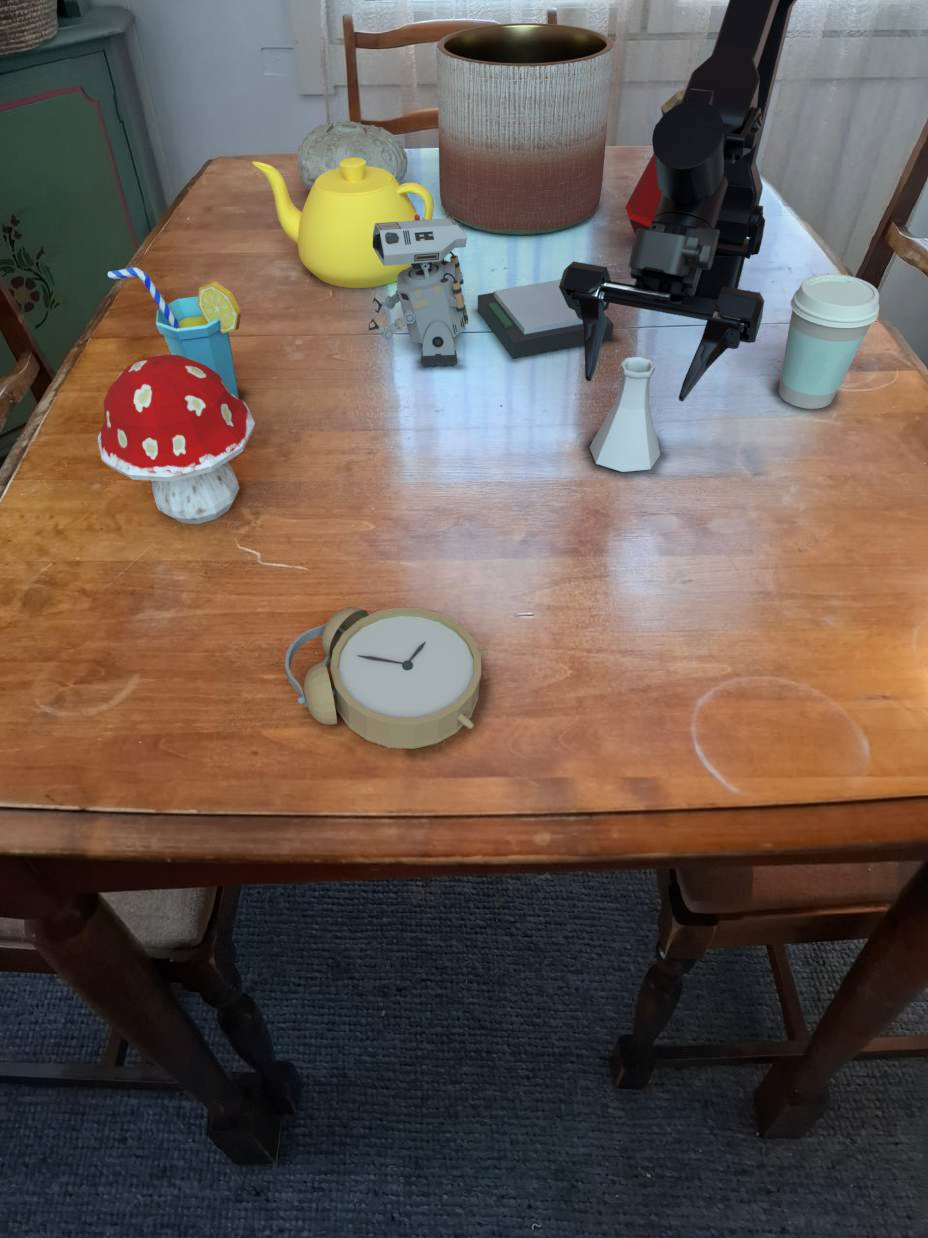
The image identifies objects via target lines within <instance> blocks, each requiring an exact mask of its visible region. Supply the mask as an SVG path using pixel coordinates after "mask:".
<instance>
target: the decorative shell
mask: <svg viewBox="0 0 928 1238" xmlns="http://www.w3.org/2000/svg"><path fill="white" fill-rule="evenodd" d="M296 156H297V157H296V158H297V159H296V161H297V172H298V176H299V177H300V179H301V183H302V184H303V186H304V187H305V189H306V190H307V191H308V192H310V190H311V188H312V186H313V185H314V183H315V181H316V179H317V178H318V177H319V176H320V175H322V174H323V173H325V172H327V171H330V170H333V169H337V168H340V165H339V162H340V161H342V160H343V159H346V158H353V157H355V158H361V159H364V160H366V166H369V167H376V168H381V169H384V170H386V171H388V172H389V173H391V174H392V175H393V176H394V177H395V179H396V180H397V181H398V183H399V184H400V185H401V184H402V182H403V180H404V179H405V177H406V173H407V170H408V163H409V162H408V159H409V158H408V156H407V152H406V151H405V149H404V147H403V145H402V143H401V142H400V140H399V139H398V138H397V137H396V136H395V135H394V134H393V133H392V132H390V131H389V130H387V129H385V128H384V127H382V126H380V127H379V126H375V125H374V124H371V125H369V124H368V125H367V124H362V123H361V122H357V121H353V120H342V119H340V120H339V121H338V122H337V121H336V122H330V123H329V122H326V123H324V124H321V123H320V124H319V125H318V126H316V127H314V128H313V130H311V131H309V132H308V133H306V135H305V137H304V138H303V140H302V142H301V145H298V146H297V155H296Z"/></svg>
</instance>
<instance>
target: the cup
mask: <svg viewBox="0 0 928 1238" xmlns="http://www.w3.org/2000/svg"><path fill="white" fill-rule="evenodd" d="M107 277H108V279H109V280H110V281H112V280H119V279H128V278H129V279H130V278H135V277H136V278H137V279H139V280H141V282H142V283H143V285H144V286H145V288H146V290H147V291H148V292H149V294H150V295H151V297H152V298H153V300H154V301H155V303H156V305H157V306H158V309H157V310H156V317H155V320H156V321H155V326H156V328H157V330H158V332H159V334H161V335H163V338H164V340H165V343H166V345H167V347H168V350H169V353H170V355H179V356H183V357H186V358H190V359H192V360H194V361H196V362H199V363H201V364H203V365H206V366H207V367H209V368H210V369H212V370H213V371H214V372H216V373H217V374H219V375H220V377H221V379H222V380H223V382H224V383H225V385H226V386H227V388H228V390H229V391H230V392H231V393H232V394H234V395H235V396H236V397H238V398H239V389H238V384H237V383H238V382H237V378H236V370H235V364H234V358H233V352H232V346H231V338H230V334H229V333H231V332H235V331H238V330H240V324H241V317H242V310H241V309H240V306H239V304H238V302H237V301H236V298H235V297H234V294H233V293H232V292H231V290H229V289H227V288H226V287H224V286H222V284H219V282H217V281H213V282H210V283H208V284H204V285H202V286H200V287H198V293H197V294H198V295H197V296H190V297H182V298H177V299H175V300H174V301H171V302H169V303H167V302H166V300H165V299H164V297H163V296H162V294H161V293H160V291H159V290H158V288H157V286H156V285H155V284H154V282H153V280H152V279H151V277H150V276H149V275H148V274H147V273H146V272H145V271H144V270H141V269H140V268H139V267H137V266H136V267H130V268H123V269H117V270H111V271H107ZM239 399H240V398H239Z"/></svg>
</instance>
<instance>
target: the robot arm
mask: <svg viewBox="0 0 928 1238" xmlns="http://www.w3.org/2000/svg"><path fill="white" fill-rule="evenodd" d="M797 2H798V0H728V3H727V6H726V9H725V12H724V15H723V18H722V22H721V25H720V28H719V32H718V35H717V38H716V40H715V43H714V47H713V50H712V52H711V55H710V56H709V57H707V58H706V59H705V60H704V61H703V62H702V63H701V64H700V65H699V66H697V67H696V68H695V69H694V70H693V71H692V72H691V74H690V77H689V80H688V82H687V85H686V87H685V89H686V90H685V93H684V95H683V98H682V100H678V101H677V102H676V103H675V105H674V106H673V108H671V109H670V110H668V111H667V112H666V113H665V114H664V115H662V116H661V117H660V118H659V121H658V122H656V123H655V126H654V128H653V132H652V138H651V141H652V152H653V153H654V159H655V166H656V173H657V181H658V187H659V190H660V191H662V194H661V197H660V200H659V204H658V207H657V210H656V214H655V217H654V220H653V221H652V223H651V225H650V227H649V230H645V229H637V231H636V236H635V235H634V241H633V245H632V250H631V254H630V257H629V263H628V268H629V269H630V272H629V274H630V279H634V284H630V283H624V282H618V281H612V279H611V276H610V273H609V269H608V266H603V265H598V264H591V263H590V264H589V263H585V262H578V261H572V262H571V263H569V265H567V266H566V267H565V268H564V270H563V272H562V275H561V278H560V280H561V282H560V285H559V288H560V291H561V293H562V295H563V297H564V299H565V301H566V303H567V306H568V307H569V308H571V309H573V310H575V312H576V315H577V317H578V318H579V319H581V320H582V321H583V328H584V341H585V345H584V378H585V380H586V382H590V383H591V382H592V379H593V376H594V374H595V371H596V368H597V364H598V360H599V357H600V353H601V349H602V345H603V342H602V340H603V336H604V332H605V328H606V324H607V318H606V316H607V315H606V313H605V311H608V309H609V307H610V305H611V304H614V305H619V306H624V307H625V306H626V307H630V308H636V309H642V310H646V311H653V312H658V313H664V314H669V315H675V316H680V317H685V318H691V319H696V320H697V319H698V320H701V321H706V323H705V326H704V330H703V333H702V336H701V339H700V341H699V344H698V346H697V348H696V351H695V353H694V356H693V358H692V360H691V362H690V365H689V367H688V369H687V371H686V374H685V376H684V379H683V381H682V385H681V388H680V391H679V394H678V401H680V402H684V401H685V400H686V398H687V397H688V396H689V394H690V393H691V392H692V390H693V389H694V388H695V386H696V384H698V382H699V381H700V380H701V378H702V377H703V375H704V374H705V373H706V372H707V370H709V368H710V367H712V365H713V364H714V363H715V362H716V361H717V360H718V359H719V357H721V355H722V354H724V352H725V351H727V350H728V349H732V350H737V349H739V347H740V344H741V343H745V344H746V343H747V344H751V343H755V342H756V339H757V336H758V334H759V330H760V326H761V324H762V320H763V314H764V307H765V299H764V297H763V296H762V293H761V292H758V291H752V290H745V289H741V288H739V286H740V285H739V284H740V281H741V277H742V272H743V269H744V264H745V260H746V259H751V258H752V256H755V255H756V256H757V255H758V254H759V253H760V250H761V246H762V242H763V237H764V231H765V225H766V219H765V217H764V205H760V202H761V197H762V193H763V188H764V185H763V183H762V179H761V175H760V172H759V169H758V166H757V157H758V153H759V149H760V145H761V140H762V136H763V132H764V127H765V125H766V119H767V116H768V112H769V107H770V103H771V99H772V95H773V92H774V91H773V90H774V88H775V81H776V78H777V74H778V70H779V65H780V61H781V58H782V52H783V49H784V45H785V41H786V36H787V32H788V29H789V25H790V20H791V16H792V11H793V8H794V6H795V4H796V3H797Z"/></svg>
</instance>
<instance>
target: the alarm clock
mask: <svg viewBox="0 0 928 1238" xmlns="http://www.w3.org/2000/svg"><path fill="white" fill-rule="evenodd" d="M319 637H321V647H322V650H323V652H324V654H325V655H326V656H325V657H324V659H323V661H320V662H318V663H315V664H314V665H313V666H311V667H310V668H309V669H308V671H307V672H306V674H305V678H304V682H303V689H302V687H301V684H300V683H299V681H297V680H296V678H294V675H293V674H292V672H291V664H292V661H293V658H294V656H295V654H296V653H297V652H298V650H299V649H300V648H301V647H302V646H303V645H304V644H306V643H307V642H309V641H311V640H312V639H315V638H319ZM487 655H489V650H488V648H479V647H478V646H477V643H476V640H475V639H474V638H473V636H471V634H470V633H469V632H468V631H467V630H466V629H465V628H464V626H462V625H461V624H460V623H458V622H456V621H455V620H453V619H452V618H450V617H448V616H446V615H445V614H442V613H439V612H436V611H432V610H429V609H425V608H422V607H406V606H405V607H403V606H399V607H393V608H389V609H388V608H387V609H383V610H378V611H375V612H373V613H371V614H369V612H368V611H367V610H366V609H363V608H361V607H356V606H348V607H345V608H342V609H340V610H338V611H337V612H335V613H334V614H333V615H332V616H331V617H330V618H329V619H327V622H326V623H324V624H322V625H319V626H315V627H313V628H310V629H308V630H305V631H304V632H302V633H301V634H300V635H298V636H296V638H295V639H294V640H293V641H292V642H291V644H290V645H289V647H288V648H287V650H286V655H285V659H284V668H285V674H286V677H287V681H288V682H289V684H290V685H291V687H292V688H293V689H294V690H295V691H296V692H297V694H298V695H299V696H298V697H297V698H296V700H297V703H298V704H300V705H304V707H306V708H307V710H308V711H309V713H310V715H311V716H312V717H313V718H314V719H315V720H316V721H317V722H318V723H320V724H323V725H328V726H332V725H337V724H338V719H337V713H338V714H339V716H340V717H341V719H342V720H343V721H344V723H345V724H346V726H347V727H348V729H350V730H352V731H353V732H354V733H356V734H357V735H359V736H361V737H362V738H363V739H364V740H366V741H368V742H372V743H373V744H377V745H380V746H383V747H387V748H389V749H411V750H415V749H418V748H423V747H428V746H432V745H437V744H439V743H441V742H443V741H444V740H446V739H448V738H450V737H452V736H453V735H455V734H457V733H458V732H459V731H460V730H461V729H462V728H463V726H464V727H465V728H468V729H470V730H472V729H473V728H474V727H475V724H474V723H473V722H472V720H471V718H472V716H473V714H474V711H475V709H476V706H477V703H478V702H479V691H480V682H481V679H482V657H484V656H487ZM328 664H330V667H329V670H330V675H331V680H330V676H329V671H328V667H327V666H328ZM331 682H332V684H331Z"/></svg>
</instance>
